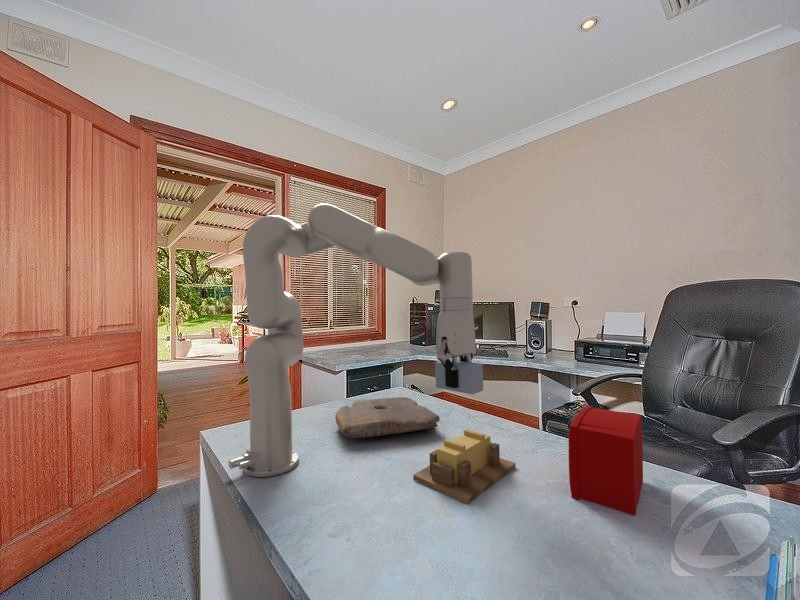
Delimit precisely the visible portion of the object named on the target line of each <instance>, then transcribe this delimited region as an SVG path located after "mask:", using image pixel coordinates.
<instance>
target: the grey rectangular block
mask: <svg viewBox="0 0 800 600" xmlns="http://www.w3.org/2000/svg"><path fill="white" fill-rule="evenodd" d="M449 360H450V361H451V362H452V359H449ZM434 366H435V367H434V368H435V388H437V389H442V390H447V391H452V392H458V393H463V394H467V395H475V394H478V393H480V392H482V391H484V367H483V366H484V365H483V363H480V362H473V361H472V362H463V361H459V360H457V366H456V370H458V388H451V387H446V385H445V369H444V368H443V365H442V363H441V362H440V361H439V360H438V361H435V362H434Z"/></svg>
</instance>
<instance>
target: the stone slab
mask: <svg viewBox="0 0 800 600" xmlns="http://www.w3.org/2000/svg"><path fill="white" fill-rule="evenodd" d="M335 422H336V425H337V427H338V429H339V431H340V433H341V434H342V435H343V436H345V437H350V438H353V439H354V438H355V439H363V438H372V437H379V436H388V435H395V434H401V433H403V434H404V433H411V432H416V431H422V430H425V431H426V430H428V429H433V428H438V427H439V425H438V424H437V423H438V422H440V416H439V415H438V414H436V412H433V411H431V410H429V409H428V408H427V407H426V406H422V405H420V404H418V403H417V401H416V400H414V399H412V398H409V397H405V396H404V397H402V396H399V397H387V398H374V399H372V398H371V399H364V400H363V399H362V400H361V399H360V400H354V401H353V403H352V404H351V406H349V405H343V406H342V407H340V408H339V409H337V412H336V413H335Z"/></svg>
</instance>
